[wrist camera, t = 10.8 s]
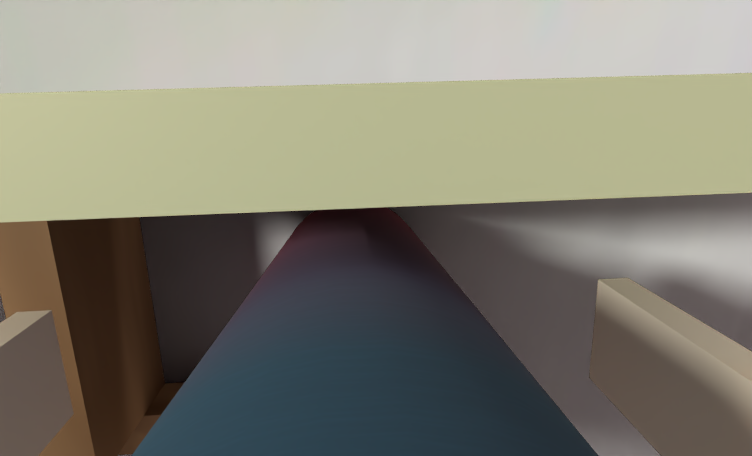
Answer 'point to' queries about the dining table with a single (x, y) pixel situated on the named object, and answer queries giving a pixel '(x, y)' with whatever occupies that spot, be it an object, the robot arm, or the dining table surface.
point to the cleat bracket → (92, 325)
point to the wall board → (371, 145)
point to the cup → (360, 361)
